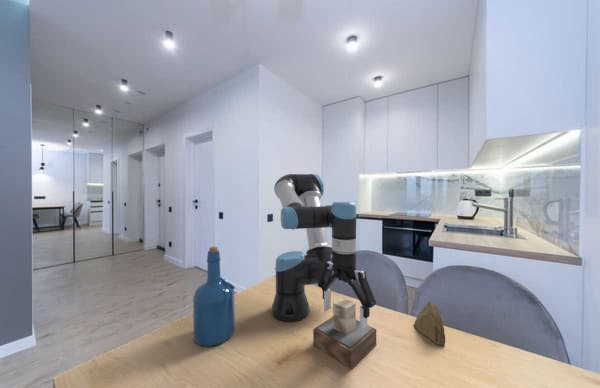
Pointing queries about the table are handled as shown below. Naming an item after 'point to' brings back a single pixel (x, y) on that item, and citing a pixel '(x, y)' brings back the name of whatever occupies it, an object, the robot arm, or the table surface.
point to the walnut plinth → (345, 342)
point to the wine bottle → (213, 305)
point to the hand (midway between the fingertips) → (344, 317)
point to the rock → (431, 324)
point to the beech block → (344, 316)
